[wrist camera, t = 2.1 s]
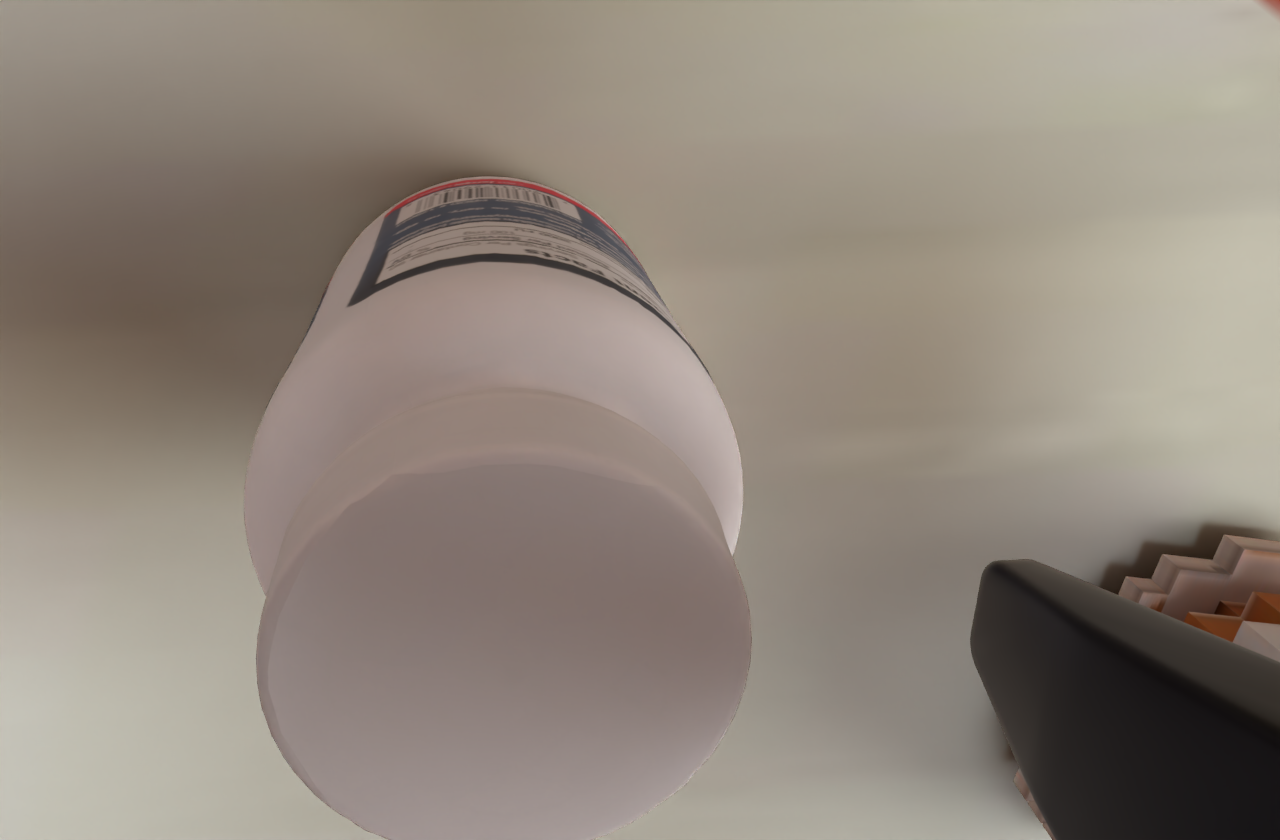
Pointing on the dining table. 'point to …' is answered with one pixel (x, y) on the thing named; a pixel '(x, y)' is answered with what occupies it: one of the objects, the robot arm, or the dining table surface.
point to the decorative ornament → (1212, 601)
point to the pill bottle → (496, 529)
